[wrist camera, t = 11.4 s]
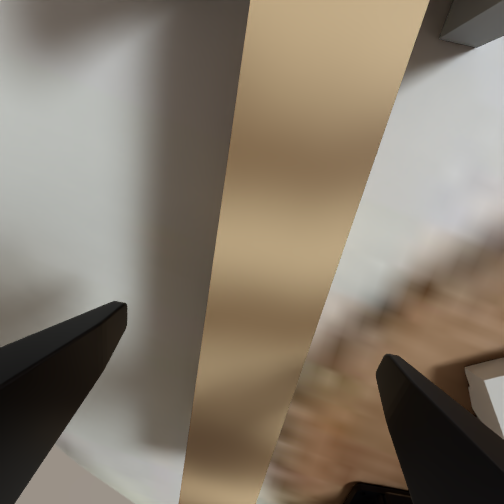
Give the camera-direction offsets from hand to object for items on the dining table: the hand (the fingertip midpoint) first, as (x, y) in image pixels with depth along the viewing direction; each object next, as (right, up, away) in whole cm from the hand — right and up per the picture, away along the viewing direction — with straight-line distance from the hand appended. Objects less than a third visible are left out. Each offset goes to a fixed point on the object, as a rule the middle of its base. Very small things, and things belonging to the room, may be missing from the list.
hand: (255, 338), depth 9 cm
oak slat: (0, +2, +5) cm, 6 cm away
